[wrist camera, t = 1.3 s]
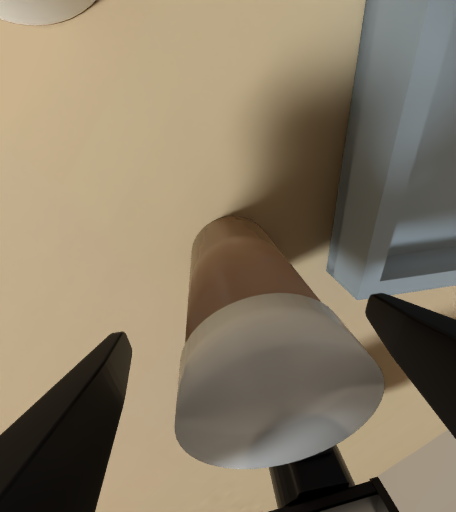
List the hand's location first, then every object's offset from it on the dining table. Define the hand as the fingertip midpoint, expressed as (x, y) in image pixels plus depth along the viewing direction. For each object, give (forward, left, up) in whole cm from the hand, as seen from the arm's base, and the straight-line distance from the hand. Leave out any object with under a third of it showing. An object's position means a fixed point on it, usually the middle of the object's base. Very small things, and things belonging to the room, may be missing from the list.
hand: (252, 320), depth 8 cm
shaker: (0, 0, -5) cm, 5 cm away
